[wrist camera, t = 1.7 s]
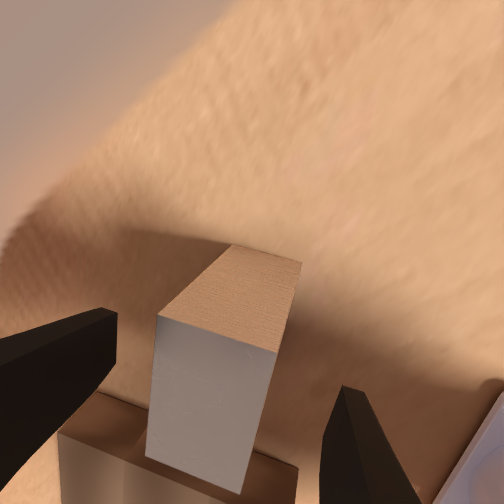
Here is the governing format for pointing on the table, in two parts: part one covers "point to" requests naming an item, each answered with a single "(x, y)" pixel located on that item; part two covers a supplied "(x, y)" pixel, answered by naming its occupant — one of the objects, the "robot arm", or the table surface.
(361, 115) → the table surface
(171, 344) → the wedge block
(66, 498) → the well block
